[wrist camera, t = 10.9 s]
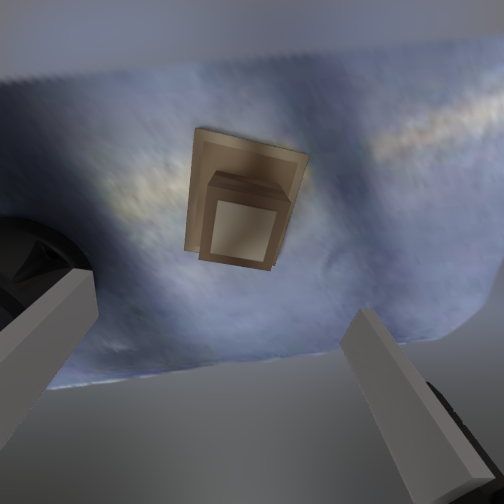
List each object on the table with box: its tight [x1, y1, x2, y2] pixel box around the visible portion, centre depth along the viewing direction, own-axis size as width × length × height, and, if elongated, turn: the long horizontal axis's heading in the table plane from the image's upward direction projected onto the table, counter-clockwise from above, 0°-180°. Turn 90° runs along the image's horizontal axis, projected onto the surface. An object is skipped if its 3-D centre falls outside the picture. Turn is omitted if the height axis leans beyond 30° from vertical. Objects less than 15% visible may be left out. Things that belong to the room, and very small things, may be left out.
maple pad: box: [184, 128, 310, 266], centre depth 27 cm, size 12×14×2 cm
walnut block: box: [198, 170, 291, 271], centre depth 23 cm, size 7×7×7 cm
